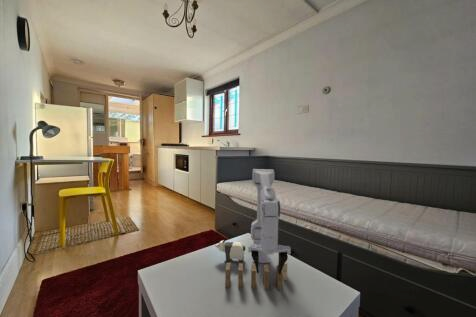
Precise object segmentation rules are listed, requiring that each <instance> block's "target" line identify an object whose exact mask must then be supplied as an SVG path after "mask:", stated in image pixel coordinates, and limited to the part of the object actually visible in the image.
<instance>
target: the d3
mask: <svg viewBox="0 0 476 317" xmlns="http://www.w3.org/2000/svg"><path fill="white" fill-rule="evenodd" d="M250 270H251V271H250V272H251V273H250V274H251V275H250V277H251V278H250V289H252V290H253V289H255V290H256V283H257V282H256V279H257V277H256V276H257V271H256V266H255V263H251V268H250Z"/></svg>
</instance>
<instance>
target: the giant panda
mask: <svg viewBox="0 0 476 317" xmlns="http://www.w3.org/2000/svg"><path fill="white" fill-rule="evenodd" d="M215 248H216V249H217V250H219V252H223V253H225V260H224V263H225V264H227V263H231V260H237V262H236V264H237V265H239V263H241V264H243V261H244V260H245V251H246V245H245V244H244V243H242V242H239V241H230V242H229V241H227V242H226V240H225V239H223V240H221V241H219V243H215Z"/></svg>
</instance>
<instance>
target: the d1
mask: <svg viewBox="0 0 476 317" xmlns="http://www.w3.org/2000/svg"><path fill="white" fill-rule="evenodd" d="M225 264H226V265H225V276H224V278H225V284H224V285H225V286H224V287H225V288H230V284H231V272H232V271H231V269H232V267H231V265H232V262H230V263H225Z"/></svg>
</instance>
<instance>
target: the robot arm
mask: <svg viewBox="0 0 476 317" xmlns="http://www.w3.org/2000/svg"><path fill="white" fill-rule="evenodd" d="M275 175H276V174H275V170H274V169H272V168H271V169H264V168H261V169H259V168H253V169H252V182H251V183H252V185H253V186H254V187H256V190H257V192H256V193H257V194H256V200H257V202H256V219H255V220H253V221H252V222H251V224H250V225H251V227H250V240H252V241H253V242H252V244H248V250H247V251H248V252H247V253H251V260H252V261H251V262H252V263H253V264H255V266H256V274H259V272H260V271H259V270H260V269H259V263H262V264H264V263H265V264H269V263H271V262H270V257H269V255H270V256H271V255H274V254H275V253H276V254H278V264H277V265H278V273H279V274H281V271H282V268H283V266H284V264H285V262H286V261H288V259H289V258H288V255H291V252H292V251H291V246H290V245H282V244H278V243H279V241H278V240H279V239H278V238H279V218H280V217H281V212H282V211H281V210H282V207H281V203H280V200H279V199H278V198H277V195H276V192H275V189H274V187H272V185H273V183H274V181H275Z"/></svg>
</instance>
